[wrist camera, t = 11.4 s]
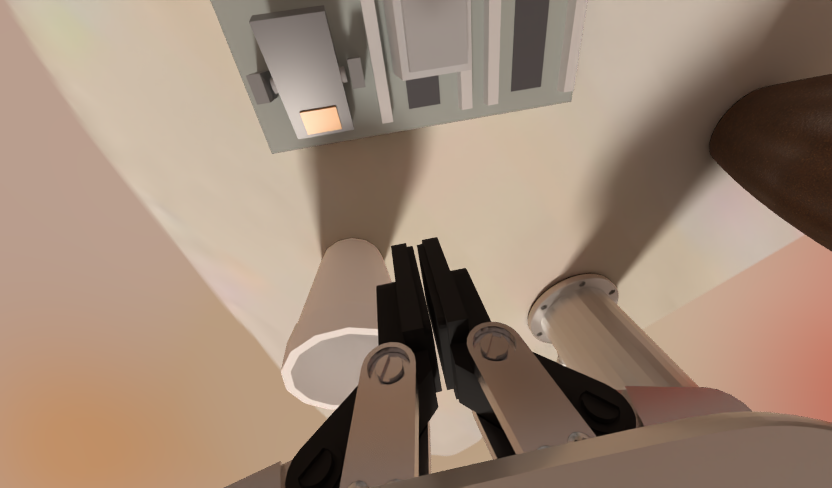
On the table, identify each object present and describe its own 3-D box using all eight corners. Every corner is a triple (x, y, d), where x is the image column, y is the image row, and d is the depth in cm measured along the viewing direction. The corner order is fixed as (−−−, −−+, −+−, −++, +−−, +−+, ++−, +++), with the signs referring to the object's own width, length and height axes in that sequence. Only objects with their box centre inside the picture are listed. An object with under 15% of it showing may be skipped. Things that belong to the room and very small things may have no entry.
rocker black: (357, 120, 23) (358, 130, 22) (294, 131, 22) (293, 141, 21) (329, 4, 17) (329, 10, 16) (246, 16, 17) (242, 23, 16)
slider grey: (449, 64, 21) (474, 70, 17) (393, 73, 21) (404, 82, 17) (445, -9, 19) (473, -25, 15) (382, 0, 19) (392, -13, 14)
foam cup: (323, 304, 35) (310, 420, 24) (291, 238, 29) (255, 350, 19) (404, 284, 35) (426, 390, 24) (387, 215, 30) (405, 313, 19)
